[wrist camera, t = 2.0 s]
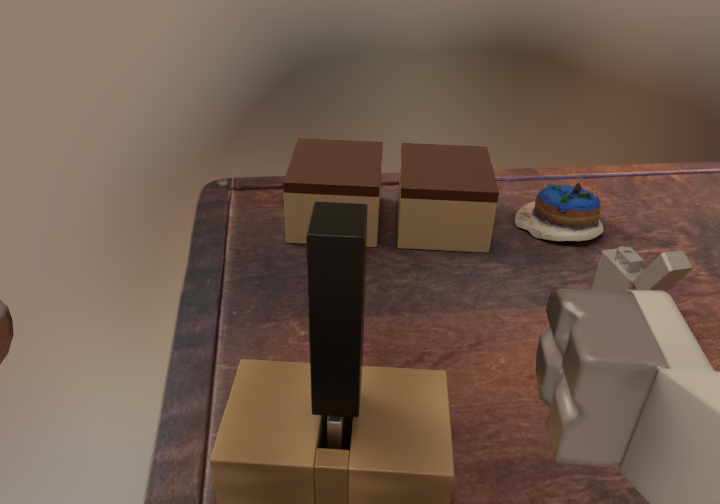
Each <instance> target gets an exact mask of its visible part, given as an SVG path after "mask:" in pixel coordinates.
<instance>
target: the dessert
mask: <svg viewBox="0 0 720 504" xmlns="http://www.w3.org/2000/svg"><path fill="white" fill-rule="evenodd" d="M535 200H536V201H535V202H532V203H528V204H526V205H524V206H523V207H521V208H520V209H519V210H518V211H517V212H516V216H515V224H516V226H517V227H518V228H523V229H525V230H528V231H529V232H530V233H531V235H532V236H533V237H535V238H542V239H546V240H552V241H583V240H584V241H586V240H590V239H593V238H595V237H597V236H599V235H600V234H601V233H603V231H604V229H603V226H602V223H601V221H600V220H599V215H600V208H599V207H600V205H599V204H601V203H599V202H600V201H599V199H598V198H597V197H595V196H594V195H593V193H590V192H587V191H585V190H584V189H582V188H581V186H580V184H578V183H577V184H576V185H575V187H571V186H569V185H568V186H565V185H564V186H561V185H559V186H556V185H551V184H550V183H549V184H548V185H547V186H546V188H545V189H544V190H541V191H540V192H539V193H538V195H537V197H536V199H535ZM601 209H602V208H601Z"/></svg>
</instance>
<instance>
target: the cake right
mask: <svg viewBox="0 0 720 504" xmlns="http://www.w3.org/2000/svg"><path fill="white" fill-rule="evenodd" d="M498 195H499V191H498V188H497V184H496V180H495V176H494V172H493V168H492V164H491V161H490V157H489V153H488V149H487V147H480V146H455V145H435V144H413V143H412V144H411V143H402V147H401V162H400V178H399V194H398V240H397V247H398V248H405V249H425V250H445V251H465V252H484V253H489V249H490V243H491V237H492V231H493V225H494V219H495V213H496V207H497V201H498Z"/></svg>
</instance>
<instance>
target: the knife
mask: <svg viewBox="0 0 720 504" xmlns="http://www.w3.org/2000/svg"><path fill="white" fill-rule="evenodd" d="M367 212H368V206H367V204H358V203H337V202H315V203H314V206H313V210H312V214H311V218H310V222H309V226H308V231H307V235H306V242H307V276H308V310H309V343H310V377H311V410H312V415H323V416H328V421H327V434H328V449H340V450H346V417H356V418H357V417H358V416H359V409H360V396H361V383H362V361H363V331H364V301H365V271H366V242H367Z"/></svg>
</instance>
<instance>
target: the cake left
mask: <svg viewBox="0 0 720 504" xmlns="http://www.w3.org/2000/svg"><path fill="white" fill-rule="evenodd" d="M381 165H382V142H368V141H347V140H324V139H302V138H299V139H298V141H297V144H296V147H295V150H294V152H293V155H292V159H291V161H290V164H289V167H288V170H287V173H286V176H285V179H284V182H283V188H284V208H285V227H286V242H287V243H304V244H307V242H306V235H307V231H308V226H309V222H310V218H311V214H312V210H313V206H314V203H315V202H337V203H358V204H367V206H368V212H367V242H366V247H377V237H378V221H379V206H380V188H381Z"/></svg>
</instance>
